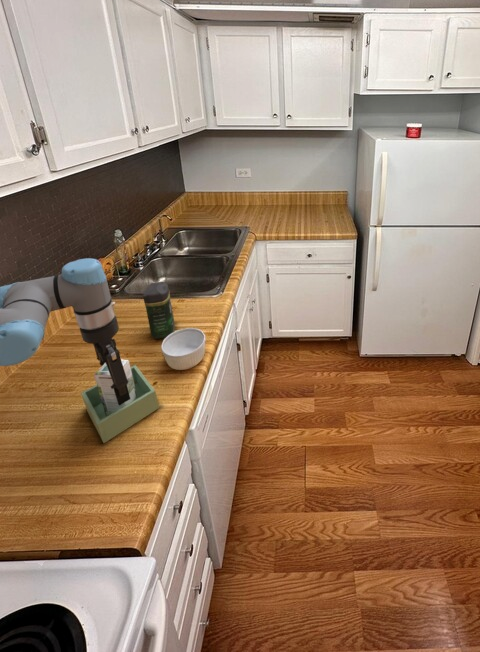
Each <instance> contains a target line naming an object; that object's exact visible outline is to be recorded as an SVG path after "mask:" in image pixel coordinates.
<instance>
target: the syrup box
mask: <svg viewBox="0 0 480 652" xmlns="http://www.w3.org/2000/svg"><path fill="white" fill-rule="evenodd" d="M121 362H122V365H123V368H124V371H125V374H126V377H127V380H128V384H127V388H128V392H129V395H130V400H128V401H126V402H124V403H123V404H121V405H118V402H117V398H116V395H115V392H114V388H113V389H111V387H110V386H112V385H113V381H112V378H111V376H110V373H109V370H108V368H107V365H106V362H105V363H104V364H103V366H101V367H99V369H98V370H97V371H96V372H95V374H94V375H93V376H94V377H93V378H94V380H95V385H97V387H98V391H99V394H100V398H101V401H102V404H103V408H104V412H105V415H106V416H109V415H111V414H112V413H114V412H116V411H117V410H119V409H121V408H123V407H124V406H126V405H128V404H129V403H131V402H133V401H134V400H136V399H138V397H137V393H136V389H135V385H134V380H133V376H132V372H131V368H130V367H131V364H130V360H129V359H124V358H121Z"/></svg>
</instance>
